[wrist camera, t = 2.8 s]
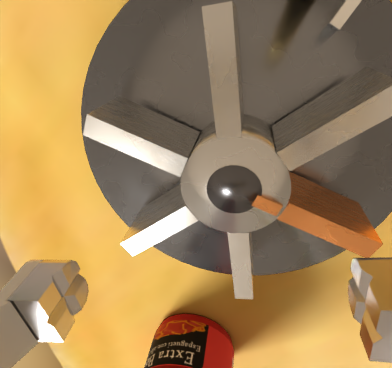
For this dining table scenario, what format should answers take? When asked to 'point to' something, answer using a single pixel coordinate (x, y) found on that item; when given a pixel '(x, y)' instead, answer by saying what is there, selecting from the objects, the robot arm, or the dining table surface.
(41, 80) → the dining table surface
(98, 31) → the dining table surface
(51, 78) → the dining table surface
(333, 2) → the disc
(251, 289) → the finned rotor disc
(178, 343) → the canned food
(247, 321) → the dining table surface
